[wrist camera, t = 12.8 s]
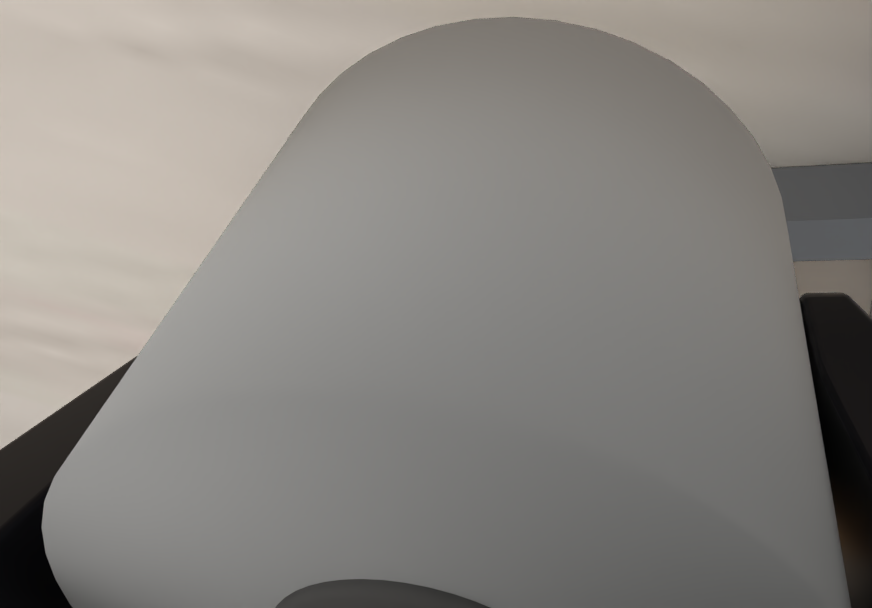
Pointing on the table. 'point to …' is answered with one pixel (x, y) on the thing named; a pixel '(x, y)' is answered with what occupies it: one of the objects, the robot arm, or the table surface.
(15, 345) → the table surface
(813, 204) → the cable rack
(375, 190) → the gray short cylinder
